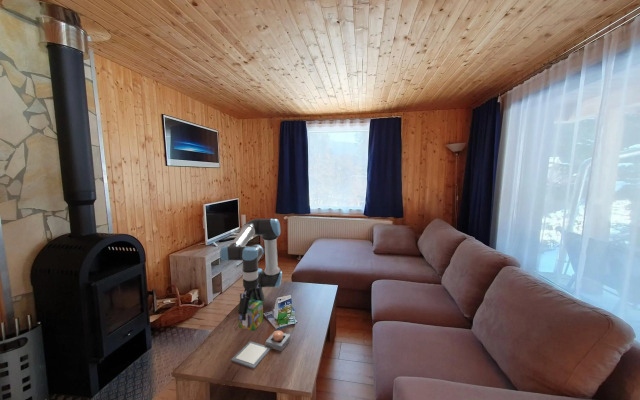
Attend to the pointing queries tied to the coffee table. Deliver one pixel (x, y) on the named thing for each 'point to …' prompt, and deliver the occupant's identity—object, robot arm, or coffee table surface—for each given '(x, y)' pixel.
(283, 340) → the button console
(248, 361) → the slate
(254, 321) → the chalk box
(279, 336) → the button
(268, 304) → the coffee table surface
